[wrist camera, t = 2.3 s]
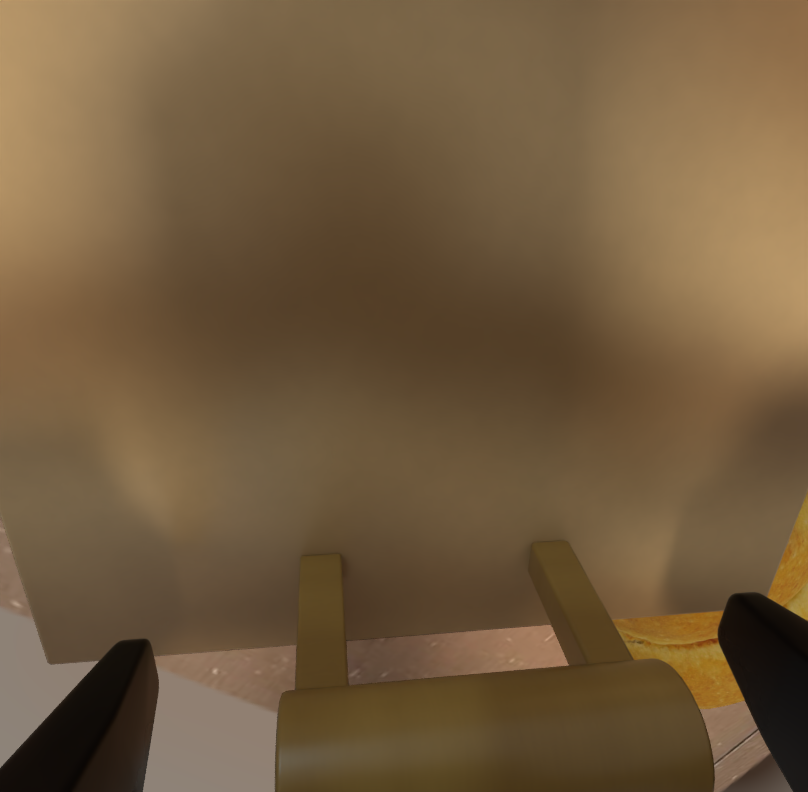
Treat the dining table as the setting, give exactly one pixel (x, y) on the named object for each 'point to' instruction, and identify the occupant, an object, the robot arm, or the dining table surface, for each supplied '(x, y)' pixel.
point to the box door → (407, 354)
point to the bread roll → (716, 629)
